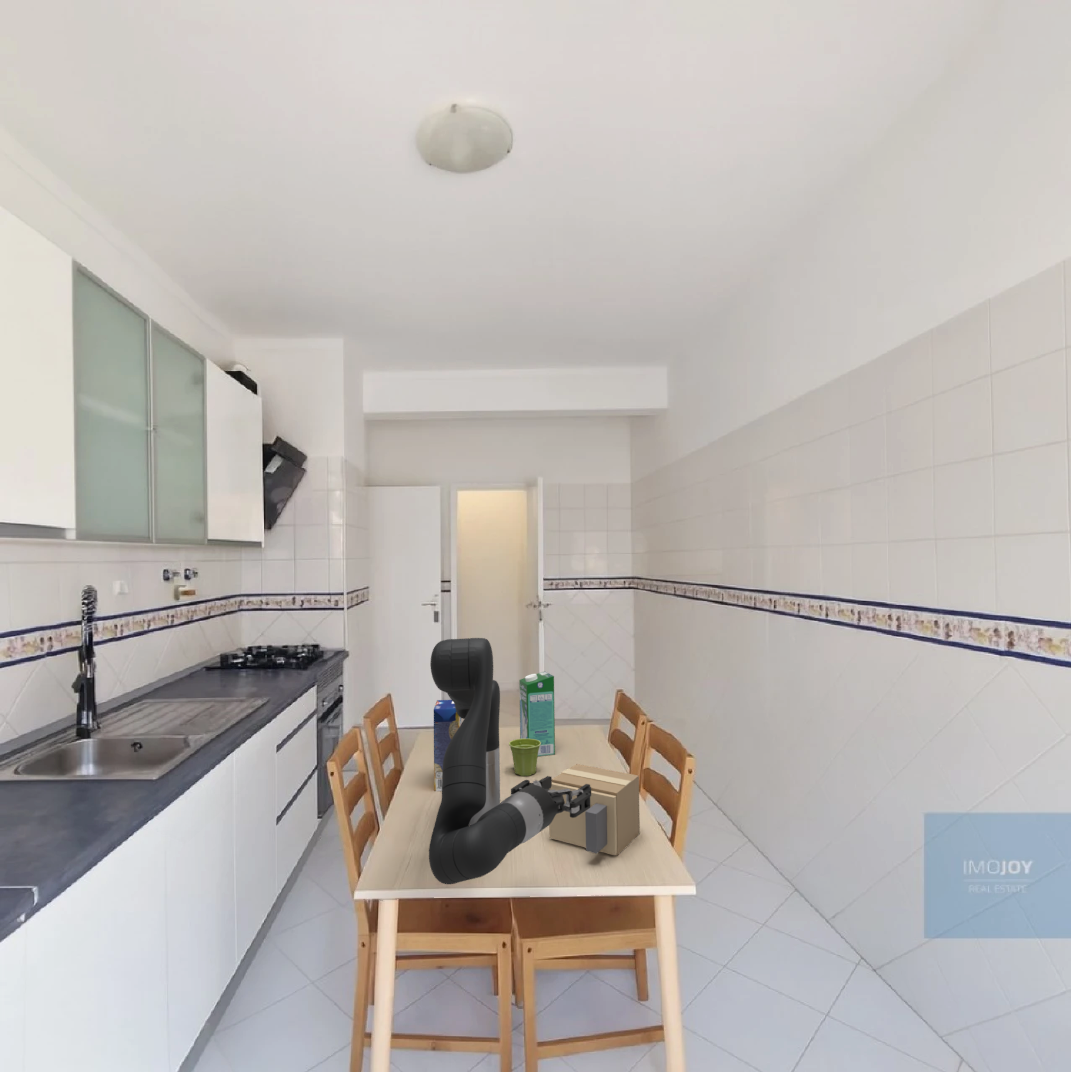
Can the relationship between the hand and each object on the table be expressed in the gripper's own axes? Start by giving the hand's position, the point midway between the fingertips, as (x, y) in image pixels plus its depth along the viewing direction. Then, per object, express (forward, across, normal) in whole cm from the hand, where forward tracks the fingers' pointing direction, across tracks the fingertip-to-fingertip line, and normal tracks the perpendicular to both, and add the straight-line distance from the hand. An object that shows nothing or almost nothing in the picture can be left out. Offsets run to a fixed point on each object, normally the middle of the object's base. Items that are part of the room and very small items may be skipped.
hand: (569, 785), depth 120 cm
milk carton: (+66, +48, +18) cm, 83 cm away
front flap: (+12, +5, +18) cm, 23 cm away
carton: (+22, +5, +19) cm, 29 cm away
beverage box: (+30, +55, +19) cm, 65 cm away
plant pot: (+48, +41, +19) cm, 66 cm away
